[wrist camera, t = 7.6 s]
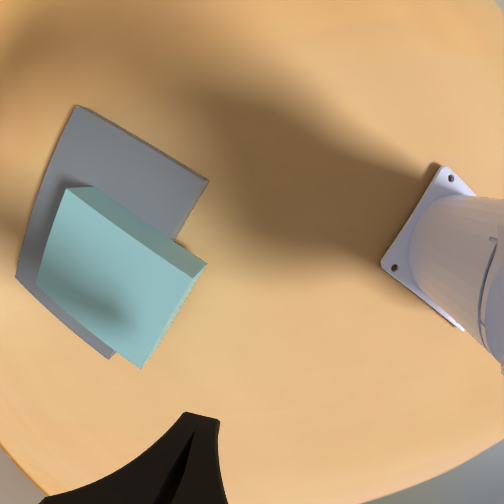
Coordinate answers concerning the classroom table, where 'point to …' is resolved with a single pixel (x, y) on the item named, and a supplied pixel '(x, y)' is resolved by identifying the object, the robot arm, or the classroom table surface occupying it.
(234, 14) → the classroom table surface
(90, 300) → the teal slab
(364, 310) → the classroom table surface
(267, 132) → the classroom table surface
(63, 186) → the rubber pad
